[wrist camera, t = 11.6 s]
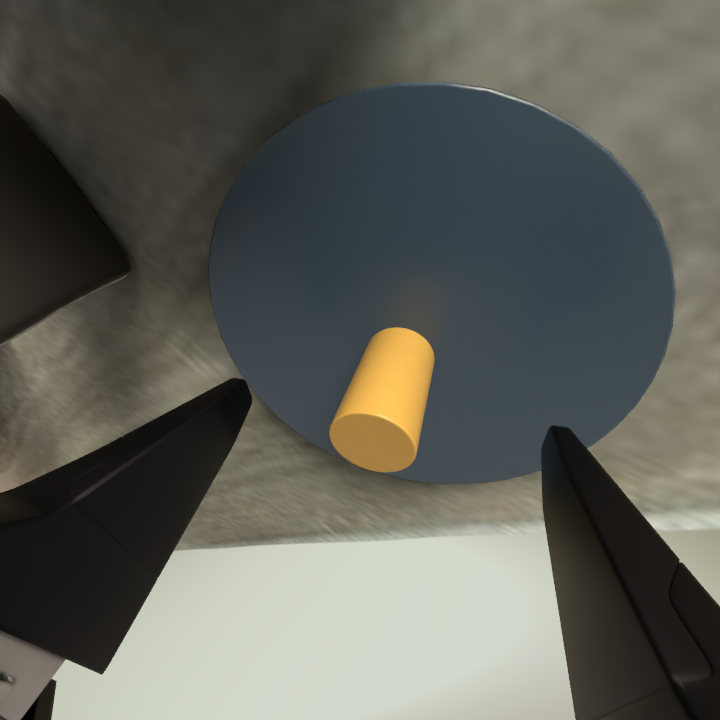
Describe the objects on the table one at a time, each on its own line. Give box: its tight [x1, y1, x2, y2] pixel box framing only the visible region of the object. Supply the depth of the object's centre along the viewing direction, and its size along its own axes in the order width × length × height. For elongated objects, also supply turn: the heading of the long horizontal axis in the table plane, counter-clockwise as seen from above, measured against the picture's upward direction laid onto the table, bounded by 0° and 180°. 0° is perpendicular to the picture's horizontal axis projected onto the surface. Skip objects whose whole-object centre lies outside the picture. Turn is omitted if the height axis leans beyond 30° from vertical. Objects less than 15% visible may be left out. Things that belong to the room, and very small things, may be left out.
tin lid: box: [208, 82, 675, 484], centre depth 11 cm, size 15×15×5 cm
